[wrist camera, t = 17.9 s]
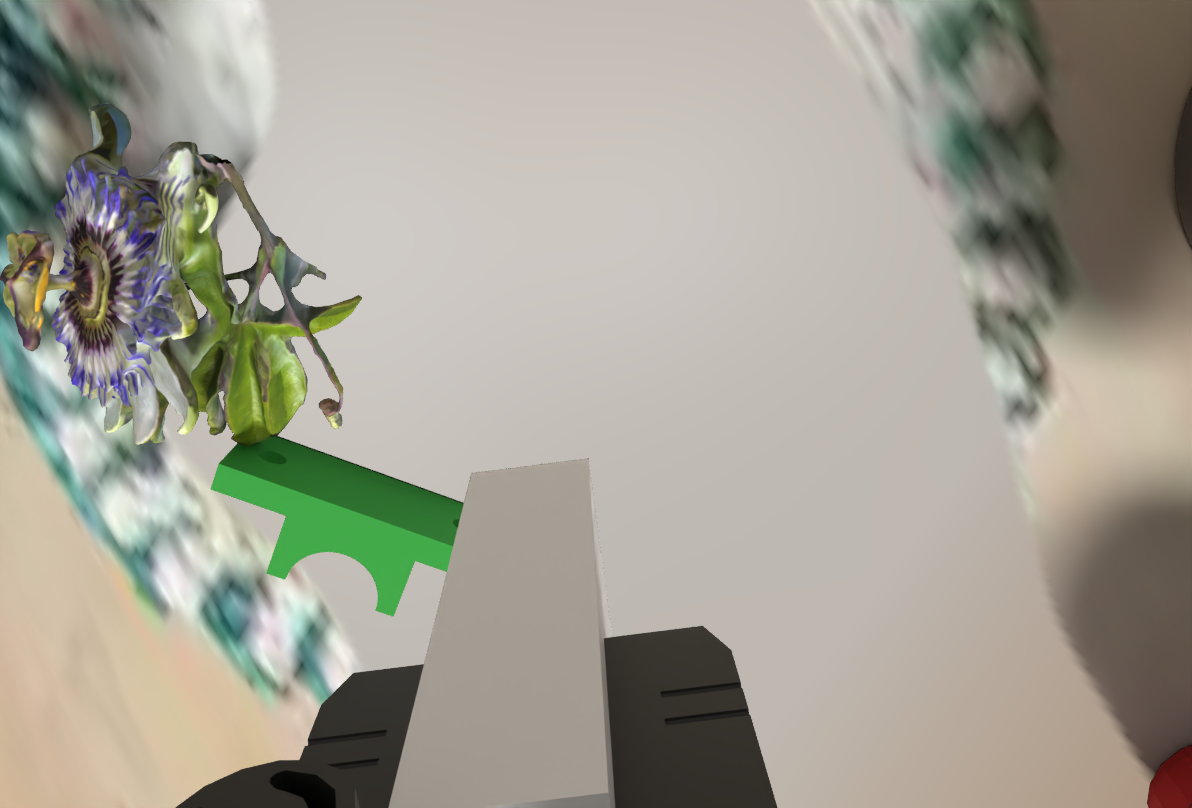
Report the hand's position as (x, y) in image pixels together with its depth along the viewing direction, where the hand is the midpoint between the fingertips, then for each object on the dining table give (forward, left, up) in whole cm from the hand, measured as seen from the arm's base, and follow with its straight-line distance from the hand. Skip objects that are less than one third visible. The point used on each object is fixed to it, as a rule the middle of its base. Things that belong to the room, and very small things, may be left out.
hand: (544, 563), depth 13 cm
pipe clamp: (+10, +10, -30) cm, 33 cm away
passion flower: (+13, 0, -30) cm, 33 cm away
